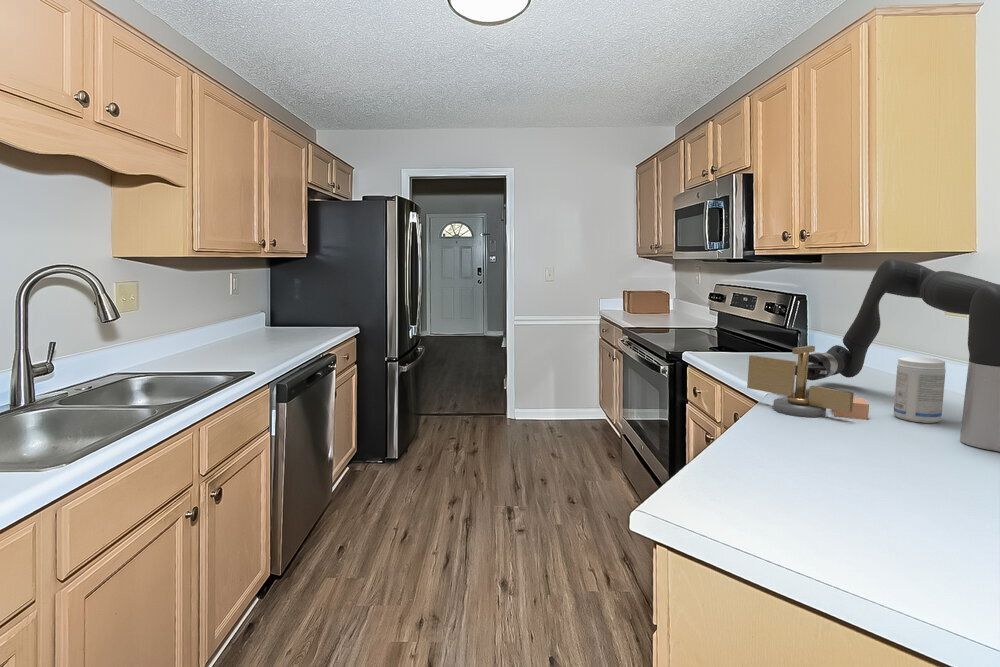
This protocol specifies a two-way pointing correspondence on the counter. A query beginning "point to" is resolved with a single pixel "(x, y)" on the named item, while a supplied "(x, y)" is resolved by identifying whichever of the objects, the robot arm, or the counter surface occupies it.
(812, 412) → the base
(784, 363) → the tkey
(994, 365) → the robot arm
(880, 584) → the counter surface
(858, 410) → the orange block
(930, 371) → the supplement tub
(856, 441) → the counter surface
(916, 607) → the counter surface
